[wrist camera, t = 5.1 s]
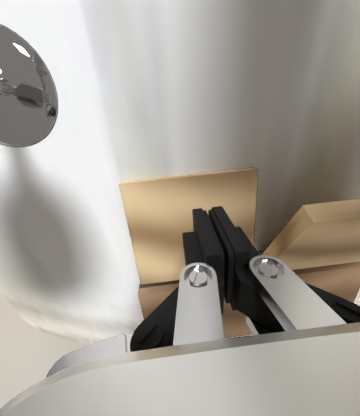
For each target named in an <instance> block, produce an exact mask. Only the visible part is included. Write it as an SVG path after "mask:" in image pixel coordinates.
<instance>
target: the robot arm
mask: <svg viewBox="0 0 360 416" xmlns="http://www.w3.org/2000/svg"><path fill="white" fill-rule="evenodd" d="M192 214H193V230H194V231H193V232H184V233H182V237H183V248H184V256H185V264H186V267H184V268H183V270H182V271H181V274H180V281H179V286H178V287H177V288H176V289H175V290H174V291H173V292H172V293H171V294H170V295H169V296H168V297H167V298H166V299H165V300H164V301H163V302H162V303H161V304H160V305H159V306H158V307H157V308H156V309H155V310H154V311H153V312H152V313H151V314H150V315H149V316H148V317H147V318H146V319H145V320H144V321H143V322H142V323H141V324H140V325H139V326H138V327H137V328H136V330H135V331H134V333H131V334H128V335H125V333H122V334H120V335H117V336H114V337H111V338H109V339H106V340H103V341H100V342H98V343H95V344H92V345H90V346H87V347H84V348H81V349H78V350H76V351H73V352H70V353H69V354H67V355H65V356H63V357H62V358H60V359H59V360H58V361H57V362H56V363H55V364H54V366H53V367H52V368H51V369H50V371H49V372H48V374H47V377H46V378H45V379H43V380H41V381H40V382H38V383H36V384H35V385H33V386H31V387H29V388H28V389H26V390H25V391H23V392H22V393H20V394H19V395H17V396H16V397H15V398H14V399H12V400H11V401H9V402H8V403H7V404H5V406H3V407H2V408H1V409H0V416H360V306H358V305H356V304H354V303H353V302H351V301H349V300H346V299H344V298H341V297H339V296H337V295H334V294H332V293H329V292H327V291H325V290H322V289H320V288H317V287H315V286H313V285H310V284H308V283H305V282H303V281H302V280H301V279H300V278H299V277H298V276H297V275H296V274H295V273H294V272H293V271H292V270H291V269H290V268H289V267H288V266H287V265H286V264H285V263H283V262H282V261H281V260H279V259H277V258H275V257H272V256H267V255H259V254H258V252H257V251H256V249H255V248H254V246H253V245H252V243H251V242H250V240H249V239H248V237H247V236H246V234H245V233H244V231H243V230H242V228H241V227H239V226H238V227H235V226H234V225H233V223H232V221H231V220H230V218H229V217H228V215H227V213H226V212H225V210H224V209H223V207H222V206H218V207H212V209H211V210H208V214H207V211H206V210H203V209H202V208H199V209H192ZM224 299H225V302H226V303H230V305H231V308H232V311H233V310H238V311H239V312H241V313H243V314H244V318H245V321H246V323H247V325H248V327H249V328H250V330H251V332H252V334H253V335H252V336H244V337H236V338H229V339H224V332H223V324H222V316H221V315H222V314H223V309H224Z"/></svg>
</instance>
